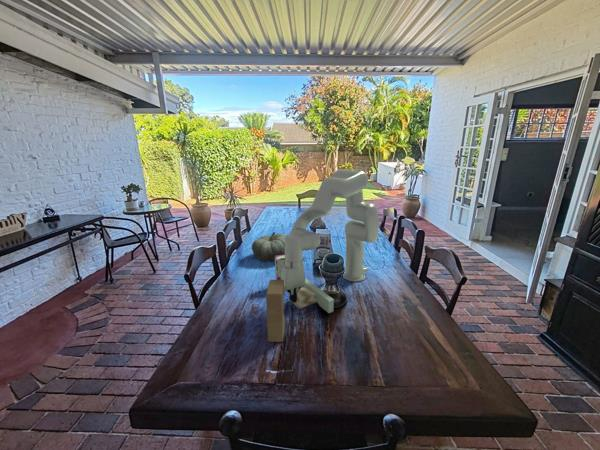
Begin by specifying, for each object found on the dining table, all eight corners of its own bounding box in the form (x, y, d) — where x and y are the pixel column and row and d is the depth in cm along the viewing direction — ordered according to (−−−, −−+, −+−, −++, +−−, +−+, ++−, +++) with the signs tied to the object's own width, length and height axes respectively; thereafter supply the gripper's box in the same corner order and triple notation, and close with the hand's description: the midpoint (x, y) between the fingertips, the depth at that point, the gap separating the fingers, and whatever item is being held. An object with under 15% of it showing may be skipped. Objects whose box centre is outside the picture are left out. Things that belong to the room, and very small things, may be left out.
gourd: (299, 258, 171) (293, 231, 167) (260, 271, 163) (253, 243, 159) (286, 248, 194) (281, 224, 190) (252, 259, 186) (245, 235, 182)
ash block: (306, 295, 135) (306, 286, 133) (315, 302, 128) (315, 293, 127) (290, 300, 130) (289, 291, 129) (299, 308, 123) (299, 299, 122)
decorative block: (271, 323, 113) (269, 279, 108) (285, 324, 113) (284, 279, 107) (267, 342, 103) (265, 294, 97) (282, 342, 102) (281, 294, 97)
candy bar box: (296, 281, 147) (296, 252, 143) (298, 286, 143) (298, 256, 138) (275, 284, 145) (274, 255, 140) (277, 289, 140) (276, 259, 135)
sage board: (306, 289, 139) (306, 278, 138) (333, 311, 121) (333, 299, 119) (302, 291, 138) (302, 280, 136) (328, 313, 120) (329, 301, 118)
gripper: (303, 256, 126) (303, 293, 130) (273, 262, 118) (274, 301, 123) (313, 262, 119) (311, 300, 124) (281, 269, 112) (282, 309, 117)
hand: (293, 300), depth 124 cm, fingers closed
